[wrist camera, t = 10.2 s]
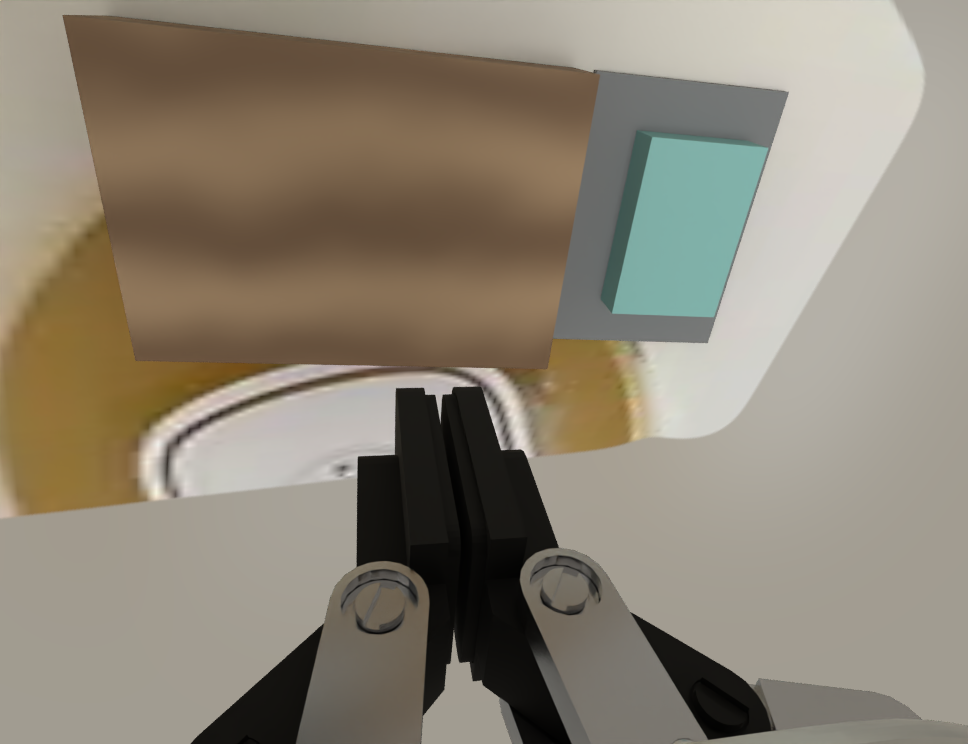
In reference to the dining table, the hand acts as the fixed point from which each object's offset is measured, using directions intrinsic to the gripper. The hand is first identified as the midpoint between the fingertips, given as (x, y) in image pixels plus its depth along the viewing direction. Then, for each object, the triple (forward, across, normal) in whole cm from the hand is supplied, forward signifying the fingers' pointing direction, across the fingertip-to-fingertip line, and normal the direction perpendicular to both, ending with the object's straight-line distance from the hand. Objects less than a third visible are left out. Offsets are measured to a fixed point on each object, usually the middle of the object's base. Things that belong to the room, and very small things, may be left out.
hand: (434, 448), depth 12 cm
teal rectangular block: (+18, -15, +1) cm, 23 cm away
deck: (+21, +2, +1) cm, 21 cm away
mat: (+20, -14, +2) cm, 25 cm away
